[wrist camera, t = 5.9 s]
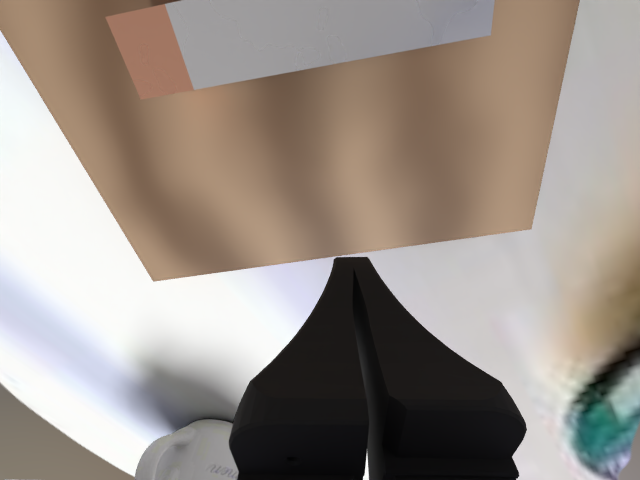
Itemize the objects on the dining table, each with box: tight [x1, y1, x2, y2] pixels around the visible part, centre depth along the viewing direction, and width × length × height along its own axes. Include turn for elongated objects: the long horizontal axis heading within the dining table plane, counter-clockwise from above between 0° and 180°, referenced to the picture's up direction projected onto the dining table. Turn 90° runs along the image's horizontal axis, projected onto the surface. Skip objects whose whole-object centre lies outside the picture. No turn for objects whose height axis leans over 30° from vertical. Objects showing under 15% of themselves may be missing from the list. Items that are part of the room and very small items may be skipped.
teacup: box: [135, 419, 239, 480], centre depth 28 cm, size 14×11×8 cm
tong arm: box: [105, 0, 495, 100], centre depth 11 cm, size 12×2×3 cm, turn 99°
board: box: [0, 0, 580, 281], centre depth 13 cm, size 23×20×1 cm
